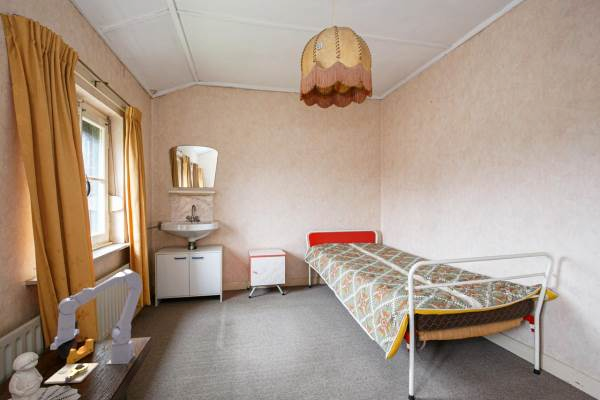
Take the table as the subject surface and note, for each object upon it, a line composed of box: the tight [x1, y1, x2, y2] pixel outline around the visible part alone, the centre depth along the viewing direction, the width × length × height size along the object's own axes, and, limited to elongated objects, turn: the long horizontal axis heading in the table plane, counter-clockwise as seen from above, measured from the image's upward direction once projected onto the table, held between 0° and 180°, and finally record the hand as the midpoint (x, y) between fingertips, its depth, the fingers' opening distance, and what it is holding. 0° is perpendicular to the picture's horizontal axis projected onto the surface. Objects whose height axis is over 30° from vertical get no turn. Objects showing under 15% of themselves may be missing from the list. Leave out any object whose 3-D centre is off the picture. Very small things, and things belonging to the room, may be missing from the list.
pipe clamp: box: [66, 338, 95, 365], centre depth 134 cm, size 12×4×6 cm, turn 175°
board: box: [44, 362, 100, 385], centre depth 121 cm, size 14×13×4 cm
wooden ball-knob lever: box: [64, 363, 88, 384], centre depth 119 cm, size 11×6×2 cm, turn 9°
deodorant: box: [71, 318, 79, 350], centre depth 140 cm, size 6×6×15 cm
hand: (64, 357), depth 117 cm, fingers closed
